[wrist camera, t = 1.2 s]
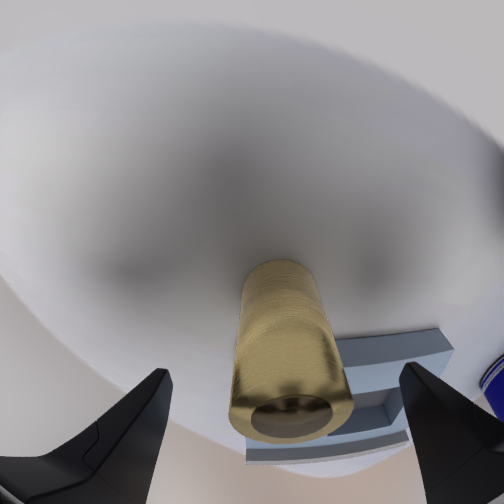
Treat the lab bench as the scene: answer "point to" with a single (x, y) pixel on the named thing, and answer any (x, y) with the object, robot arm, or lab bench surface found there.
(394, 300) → the lab bench surface
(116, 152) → the lab bench surface
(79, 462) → the robot arm
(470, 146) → the lab bench surface
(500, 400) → the beverage can
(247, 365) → the cylinder
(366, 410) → the jig
